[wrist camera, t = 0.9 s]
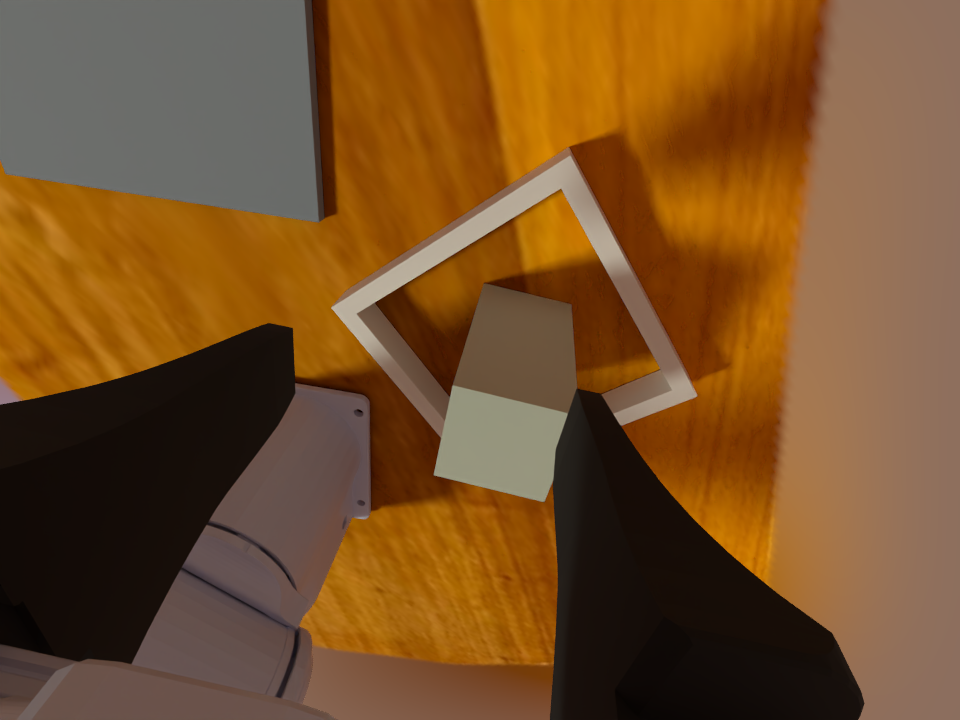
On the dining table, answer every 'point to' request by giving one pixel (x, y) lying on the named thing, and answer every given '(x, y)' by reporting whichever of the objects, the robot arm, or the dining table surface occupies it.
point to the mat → (165, 100)
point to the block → (510, 394)
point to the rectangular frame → (500, 208)
